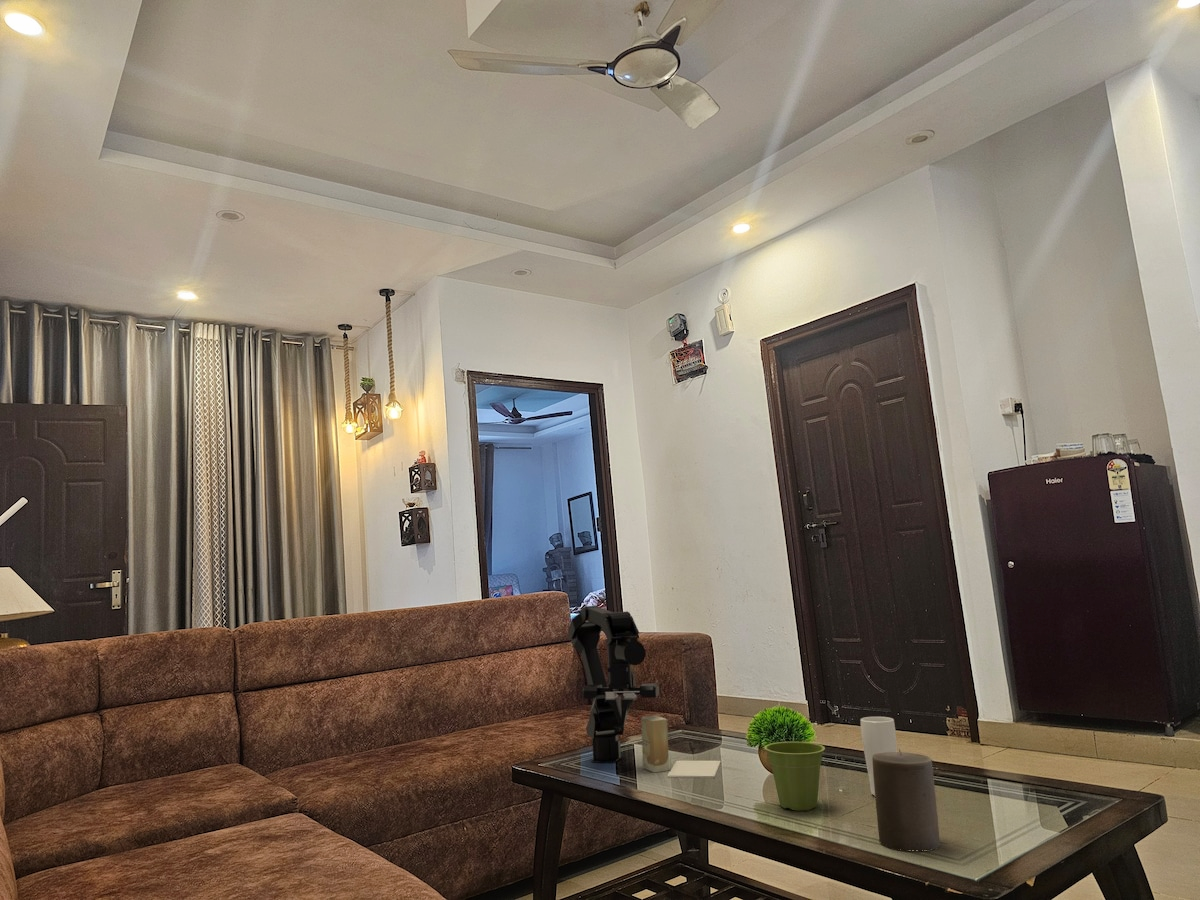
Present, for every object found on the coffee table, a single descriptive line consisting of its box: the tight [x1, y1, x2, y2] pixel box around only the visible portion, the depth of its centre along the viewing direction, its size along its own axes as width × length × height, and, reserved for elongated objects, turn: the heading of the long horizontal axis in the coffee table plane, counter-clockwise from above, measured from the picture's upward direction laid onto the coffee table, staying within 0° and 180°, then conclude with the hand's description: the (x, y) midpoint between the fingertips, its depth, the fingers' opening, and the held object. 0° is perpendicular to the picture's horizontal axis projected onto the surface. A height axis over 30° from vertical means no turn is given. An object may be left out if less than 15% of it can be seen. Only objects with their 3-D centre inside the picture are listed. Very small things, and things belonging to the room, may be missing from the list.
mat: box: [666, 760, 722, 779], centre depth 192 cm, size 11×16×1 cm
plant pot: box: [764, 741, 826, 812], centre depth 158 cm, size 12×12×11 cm
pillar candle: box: [872, 748, 941, 851], centre depth 134 cm, size 10×10×15 cm
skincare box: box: [640, 715, 670, 773], centre depth 196 cm, size 6×4×12 cm
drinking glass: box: [859, 716, 898, 796], centre depth 163 cm, size 7×7×15 cm
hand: (622, 726), depth 198 cm, fingers closed
